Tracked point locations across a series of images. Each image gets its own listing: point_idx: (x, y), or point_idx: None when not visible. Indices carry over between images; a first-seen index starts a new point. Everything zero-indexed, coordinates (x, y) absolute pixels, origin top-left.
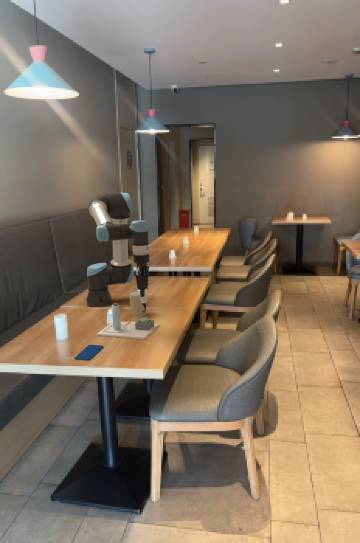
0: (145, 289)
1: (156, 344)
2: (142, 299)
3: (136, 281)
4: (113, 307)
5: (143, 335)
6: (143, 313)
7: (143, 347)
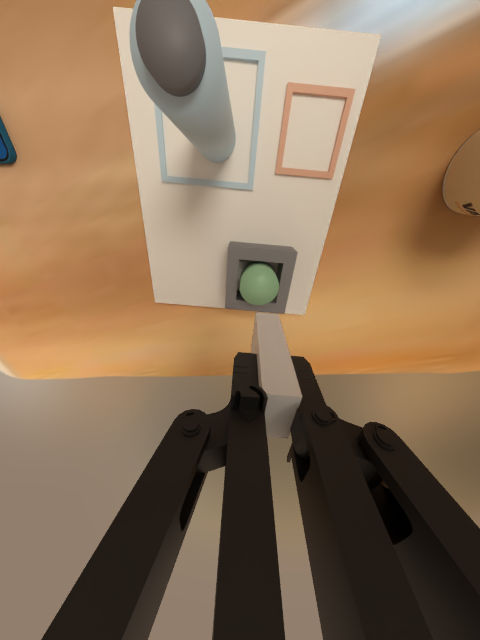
0: (274, 435)
1: (136, 340)
2: (254, 342)
3: (53, 625)
4: (137, 48)
5: (172, 294)
6: (460, 208)
7: (99, 314)
